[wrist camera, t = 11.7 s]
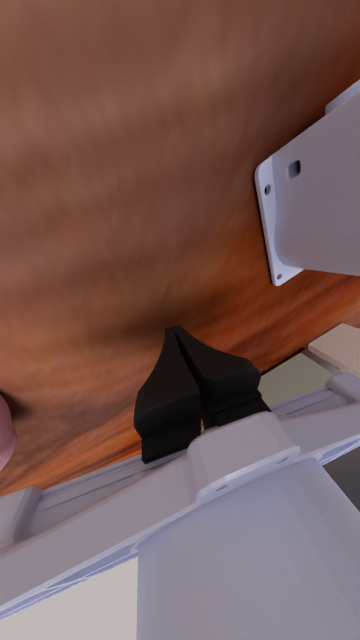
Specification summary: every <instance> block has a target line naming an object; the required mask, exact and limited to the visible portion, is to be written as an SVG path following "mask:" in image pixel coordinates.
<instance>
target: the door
mask: <svg viewBox="0 0 360 640" xmlns="http://www.w3.org/2000/svg"><path fill="white" fill-rule="evenodd" d="M340 373H343V371H341V370H340V369H338V368H336V367H335V366H333V365H331V364H330V363H328V362H327V361H325V360H323V359H322V358H320V357H318V356H317V355H315V354H314V353H312V352H310V351H309V350H307V349H305V350H303V351H302V352H301V353H299V354H298V355H296V356H294V357H293V358H291V359H289V360H288V361H286V362H284V363H283V364H281V365H279V366H278V367H276V368H275V369H273V370H271V371H270V372H268V373H266V374H265V375H263V376H261V379H260V383H259V386H258V390H259V392H260V393H261V394H262V397H261V398H262V399H263V400H264V402H265V403H266V404H267V405H268V406H271V405H273V404H276V403H279V402H282V401H284V400H287V399H290V398H292V397H295V396H298V395H300V394H303V393H306V392H308V391H311V390H314V389H316V388H319V387H322V386H325V383H326V382H327V380H328V379H329V378H331V377H332V376H335V375H337V374H340ZM201 420H202V419H201Z"/></svg>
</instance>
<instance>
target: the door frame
mask: <svg viewBox="0 0 360 640" xmlns="http://www.w3.org/2000/svg"><path fill="white" fill-rule="evenodd" d="M308 350H310V351H312V352H313V353H315V354H317V355H318V356H320V357H322V358H323V359H325V360H326V361H328V362H330V363H331V364H333V365H335V366H336V367H338V368H340V369H341V370H343V371H344V372H349V373H351V374H353V375H354V376H356V377H358V378H359V379H360V329H358V328H355V327H352V326H350V325H347V324H344V323H342V324H340V325H338V326H337V327H335V328H333V329H332V330H330V331H328V332H327V333H325V334H324V335H322V336H320V337H319V338H317V339H315V340H314V341H312V342H310V343H309V344H308ZM201 428H202V426H201ZM202 431H203V429H202Z"/></svg>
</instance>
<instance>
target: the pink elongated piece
mask: <svg viewBox="0 0 360 640" xmlns="http://www.w3.org/2000/svg"><path fill="white" fill-rule="evenodd" d="M16 439H17V434H16V431H15V429H14V428H13V427H12V419H11V413H10V410H9V407H8V405H7V402H6V401H5V400H4V398H3V397H2V396H1V395H0V471H1V470H2V469H3V467H4V466H5V465H6V463H7V462H8V460H9V459H10V457H11V455H12V453H13V450H14V447H15V444H16Z"/></svg>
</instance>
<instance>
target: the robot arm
mask: <svg viewBox="0 0 360 640" xmlns="http://www.w3.org/2000/svg"><path fill="white" fill-rule="evenodd" d="M255 183H256V189H257V195H258V201H259V207H260V212H261V218H262V224H263V230H264V236H265V242H266V247H267V253H268V259H269V265H270V271H271V277H272V283H273V285H275V286H279V285H281V284H283V283H284V282H286V281H287V280H289V279H290V278H292V277H293V276H295V275H296V274H298V273H299V272H301V271H302V270H304V269H309V270H317V271H324V272H332V273H340V274H348V275H356V276H360V80H358V81H357V82H356V83H354V84H353V85H352V86H351V87H349V88H348V89H347V90H345V91H344V92H343V93H342V94H340V95H339V96H338V97H336V98H335V99H334V100H333V101H331V102H330V103H329V104H328V105H327V106H326V108H325V116H324V117H322V118H321V119H320V120H318V121H317V122H316V123H314V124H313V125H312V126H310V127H309V128H308V129H306V130H305V131H304V132H302V133H301V134H300V135H298V136H297V137H296V138H294V139H293V140H292V141H290V142H289V143H288V144H286V145H285V146H284V147H282V148H281V149H280V150H278V151H277V152H276V153H274V154H273V155H271V156H270V157H269V158H267V159H266V160H265V161H263V162H262V163H261V164H260V165H259V166H258V167H257V169H256V171H255ZM265 188H266V189H267V191H266V195H265V193H264V190H265ZM277 276H278V277H277ZM260 379H261V373H260V371H259V370H258V369H257V368H256V367H255V366H254V365H253V364H252V363H251V362H250V361H249V360H248V359H246V358H242V357H238V356H234V355H230V354H227V353H224V352H221V351H219V350H216V349H214V348H212V347H209V346H207V345H206V344H204V343H202V342H200V341H199V340H197V339H196V338H194V337H193V336H191V335H190V334H189V333H188V332H186V331H185V330H184V329H183V328H182V327H181V326H175V327H171V328H166V329H165V340H164V344H163V348H162V351H161V354H160V357H159V359H158V361H157V363H156V365H155V367H154V369H153V371H152V373H151V374H150V376H149V378H148V379H147V381H146V382H145V383H144V385H143V386H142V387H141V389H140V390H139V392H138V395H137V399H136V404H135V410H134V427H135V429H136V431H137V432H138V434H139V435H140V437H141V438H142V454H139V455H136V456H134V457H131V458H128V459H126V460H123V461H120V462H118V463H115V464H112V465H110V466H107V467H104V468H101V469H99V470H96V471H93V472H91V473H88V474H85V475H83V476H80V477H77V478H75V479H72V480H69V481H66V482H64V483H61V484H58V485H56V486H53V487H50V488H48V489H45V490H41V489H40V488H38V487H27V488H23V489H20V490H17V491H15V492H12V493H9V494H6V495H4V496H1V497H0V621H1V620H3V619H5V618H7V617H9V616H11V615H13V614H15V613H18V612H20V611H22V610H24V609H25V608H28V607H30V606H32V605H34V604H36V603H39V602H40V601H43V600H45V599H47V598H49V597H51V596H53V595H56V594H58V593H60V592H62V591H64V590H66V589H68V588H71V587H73V586H75V585H77V584H79V583H81V582H83V581H85V580H88V579H90V578H92V577H94V576H96V575H98V574H101V573H103V572H105V571H107V570H109V569H111V568H114V567H116V566H118V565H120V564H122V563H124V562H127V561H129V560H131V559H133V558H135V557H137V556H138V589H137V640H360V512H359V511H358V510H357V509H356V508H355V506H354V505H353V504H352V503H351V501H350V500H349V499H348V498H347V497H346V495H345V494H344V493H343V492H342V490H341V489H340V488H339V487H338V486H337V484H336V483H335V482H334V481H333V479H332V478H331V477H330V476H329V475H328V473H327V472H326V471H325V470H324V469H323V467H322V465H324V464H326V463H327V462H329V461H331V460H333V459H335V458H337V457H339V456H341V455H343V454H345V453H347V452H349V451H350V450H353V449H354V448H356V447H358V446H360V379H359V378H358V377H356V376H354V375H353V374H351V373H349V372H343V373H340V374H337V375H335V376H332V377H331V378H329V379H328V380H327V382H326V383H325V386H322V387H319V388H316V389H314V390H311V391H308V392H306V393H303V394H300V395H298V396H295V397H292V398H290V399H287V400H284V401H282V402H279V403H276V404H273V405H271V406H268V405H267V404H266V403H265V402H264V400H263V399H262V398H261V397H262V394H261V393H260V392H259V390H258V386H259V383H260ZM201 419H202V423H203V426H204V429H205V430H204V431H202V428H201Z"/></svg>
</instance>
